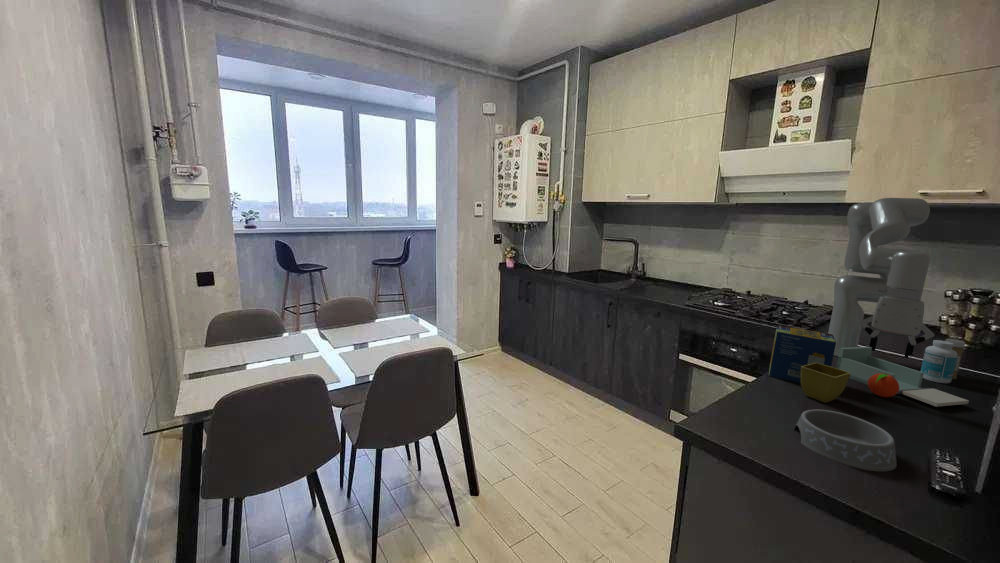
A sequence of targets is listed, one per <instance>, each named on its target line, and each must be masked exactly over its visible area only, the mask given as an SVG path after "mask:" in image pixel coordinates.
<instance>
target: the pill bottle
mask: <svg viewBox="0 0 1000 563" xmlns="http://www.w3.org/2000/svg"><path fill="white" fill-rule="evenodd" d="M953 346H954V344H953V343H951V342H946V341H945V340H940V339H934V340H933V341H932V345H930V346H927V347H926V348H925V350H924V354H923V359H922V362H921V366H920V372H923V373H924V375H923V379H924V380H927V381H930V382H934V383H940V384H951V383H952V380H953V379H952V377H953V372H954V368H955V364H956V360H957V355H958V354H957V352H956V351H954V350H952V348H953Z"/></svg>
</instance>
